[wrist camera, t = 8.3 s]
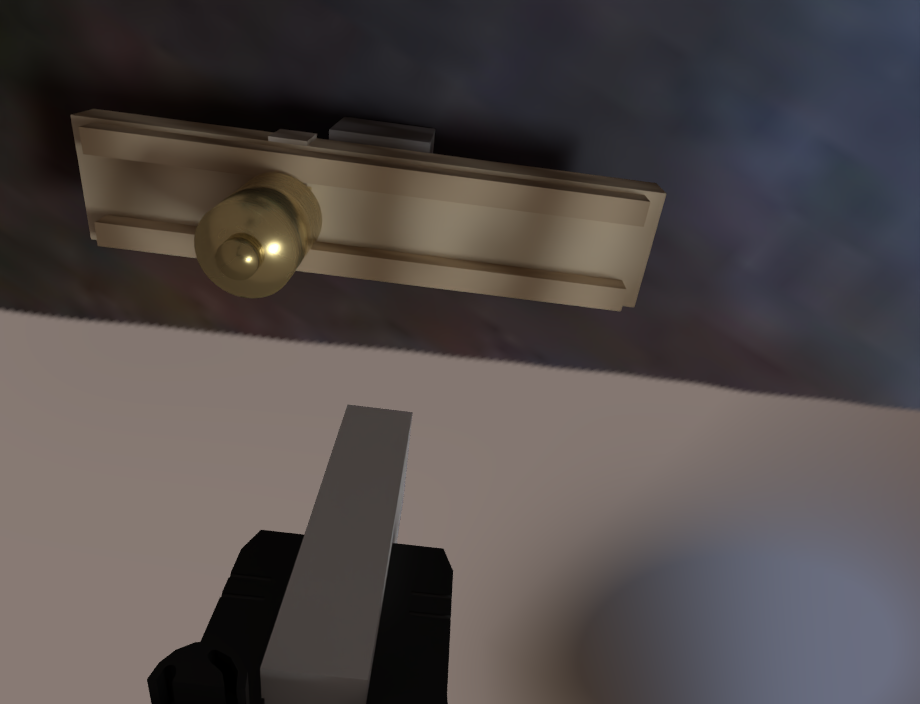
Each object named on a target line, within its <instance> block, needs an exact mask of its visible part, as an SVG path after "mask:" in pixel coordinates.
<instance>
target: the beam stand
mask: <svg viewBox="0 0 920 704" xmlns="http://www.w3.org/2000/svg"><path fill="white" fill-rule="evenodd" d="M71 121H72V127H73V133H74V139H75V145H76V151H77V157H78V163H79V169H80V175H81V181H82V187H83V193H84V199H85V205H86V211H87V217H88V223H89V229H90V235H91V239H94V240H97V243H98V246H104V247H112V248H120V249H128V250H136V251H144V252H151V253H159V254H167V255H175V256H183V257H191V258H197V257H196V253H195V248H194V236H195V231H196V228H197V226H198V223H199V222H200V220H201V219H202V217H203V216H204V215H205V214H206V213H207V212H209V211H210V210H211V209H212V208H214V207H215V206H216V205H218V204H219V203H220V202H222V201H223V200H224V199H226V198H227V197H228V196H230V195H231V194H232V193H234V192H235V191H236V190H238V189H239V188H240V187H241V186H243V185H244V184H245V183H247V182H248V181H249V180H251V179H252V178H254V177H256V176H258V175H260V174H264V173H270V172H277V173H283V174H287V175H290V176H292V177H294V178H296V179H298V180H300V181H301V182H302V183H304V184H305V185H306V186H308V187H312V193H313V194H314V195H315V197H316V199H317V201H318V203H319V205H320V208H321V212H322V228H321V232H320V235H319V237H318V239H317V240H316V242H315V243H314V245H313V246H312V248H311V249H310V250H309V252H308V253H307V255H306V256H305V258H304V259H303V260H302V262H301V263H300V265H299V266H298V268H297V269H296V270H295V271H303V272H311V273H319V274H327V275H335V276H343V277H351V278H359V279H367V280H375V281H383V282H391V283H399V284H407V285H415V286H423V287H431V288H439V289H447V290H455V291H463V292H471V293H479V294H487V295H495V296H503V297H511V298H519V299H527V300H535V301H543V302H551V303H559V304H566V305H574V306H582V307H590V308H598V309H606V310H614V311H621V309H622V306H628V307H634V306H635V303H636V299H637V296H638V292H639V289H640V285H641V281H642V278H643V274H644V271H645V267H646V264H647V260H648V257H649V253H650V250H651V246H652V243H653V239H654V236H655V232H656V229H657V225H658V221H659V218H660V214H661V211H662V207H663V204H664V200H665V197H666V193H665V192H664V191H663V190H662V189H661V188H660V187H659V186H658V185H657V184H656V183H651V182H643V181H636V180H628V179H621V178H613V177H605V176H598V175H590V174H583V173H575V172H568V171H560V170H553V169H545V168H538V167H530V166H522V165H515V164H507V163H500V162H492V161H485V160H477V159H470V158H462V157H455V156H447V155H440V154H433V148H434V138H435V129H433V128H425V127H418V126H410V125H403V124H395V123H388V122H380V121H373V120H365V119H358V118H350V117H344V118H342V119H341V120H340V121H339V122H337V123H336V124H335V125H334V126H333V127H331V128H330V129H329V140H326V139H319V138H317V134H316V133H308V132H301V131H293V130H286V129H279V130H277V131H276V132H266V131H258V130H251V129H243V128H236V127H228V126H221V125H213V124H206V123H198V122H191V121H183V120H176V119H168V118H160V117H153V116H145V115H138V114H130V113H123V112H115V111H108V110H100V109H91V110H87V111H83V112H79V113H76V114H72V115H71Z"/></svg>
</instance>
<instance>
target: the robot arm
mask: <svg viewBox="0 0 920 704" xmlns="http://www.w3.org/2000/svg"><path fill="white" fill-rule="evenodd" d="M411 421H412V412H405V411H397V410H388V409H380V408H371V407H363V406H355V405H347V409H346V411H345V415H344V417H343V420H342V424H341V426H340V429H339V432H338V435H337V438H336V441H335V444H334V447H333V450H332V453H331V457H330V459H329V463H328V465H327V469H326V471H325V475H324V478H323V481H322V484H321V487H320V490H319V493H318V496H317V499H316V502H315V505H314V508H313V511H312V514H311V517H310V520H309V523H308V526H307V529H306V532H305V535H301V534H293V533H284V532H275V531H266V530H261V531H259V532H258V533H257V534H256V535H255V536H254V537H253V538H252V539H251V540H250V541H249V542H248V543H247V544H246V545H245V546H244V547H243V548H242V549H241V551H240V553H239V555H238V558H237V560H236V562H235V564H234V567H233V569H232V571H231V576H230V578H228V580H227V583H226V585H225V587H224V590H223V592H222V597H220V599H219V601H218V603H217V606H216V608H215V610H214V612H213V615H212V617H211V619H210V621H209V624H208V626H207V628H206V631H205V633H204V635H203V637H202V640H201V642H195V643H193V644H190V645H187V646H185V647H182V648H180V649H177V650H175V651H174V652H172V653H171V654H170V655H169V656H167V657H166V658H165V659H163V660H162V661H161V662H159V664H158V665H157V666H156V668H155V669H154V671H153V672H152V673H151V675H150V676H149V677H148V679H147V682H148V687H149V692H150V698H151V703H152V704H448V703H447V683H448V662H449V641H450V617H451V598H452V580H453V570H452V568H451V565H450V563H449V561H448V558H447V556H446V554H445V551H444V549H441V548H432V547H423V546H414V545H405V544H397V537H398V530H399V524H400V518H401V511H402V504H403V497H404V487H405V479H406V469H407V459H408V450H409V440H410V431H411Z"/></svg>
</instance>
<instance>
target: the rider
mask: <svg viewBox="0 0 920 704" xmlns="http://www.w3.org/2000/svg"><path fill="white" fill-rule="evenodd" d="M321 228H322V212H321V208H320V205H319V203H318V201H317V199H316V197H315V195H314V194H313V193H312V187H308V186H306V185H305V184H304V183H302V182H301V181H300V180H298V179H296V178H294V177H292V176H290V175H287V174H283V173H277V172H270V173H264V174H260V175H258V176H256V177H254V178H252V179H251V180H249V181H248V182H247V183H245V184H244V185H243V186H241V187H240V188H239V189H238V190H236V191H235V192H234V193H232V194H231V195H230V196H228V197H227V198H226V199H224V200H223V201H222V202H220V203H219V204H218V205H216V206H215V207H214V208H212V209H211V210H210V211H209V212H207V213H206V214H205V215H204V216H203V217H202V219H201V220H200V222H199V223H198V226H197V228H196V231H195V236H194V248H195V253H196V257H197V260H198V262H199V264H200V266H201V268H202V270H203V271H204V272H205V274H206V275H207V276H208V277H209V278H210V280H211V281H213V282H214V283H215V284H216V285H217V286H219V287H220V288H221V289H223V290H225V291H227V292H229V293H231V294H233V295H236V296H240V297H245V298H261V297H266V296H269V295H272V294H274V293H276V292H277V291H279V290H280V289H281V288H282V287H283V286H285V284H286V283H287V282H288V281H289V279H290V278H291V276H292V275H293V273H294V272H295V270H296V269H297V268H298V266H299V265H300V263H301V262H302V260H303V259H304V258H305V256H306V255H307V253H308V252H309V250H310V249H311V248H312V246H313V245H314V243H315V242H316V240H317V239H318V237H319V235H320V232H321Z"/></svg>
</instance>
